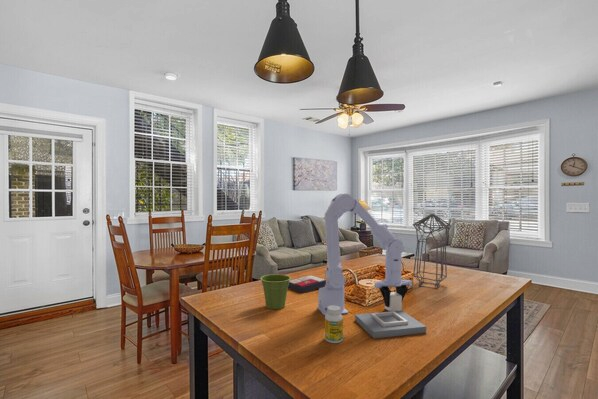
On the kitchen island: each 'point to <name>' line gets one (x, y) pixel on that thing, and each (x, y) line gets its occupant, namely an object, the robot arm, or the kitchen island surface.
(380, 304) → the kitchen island surface
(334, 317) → the supplement bottle
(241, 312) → the kitchen island surface
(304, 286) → the dark product box
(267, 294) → the plant pot
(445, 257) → the geometric lantern
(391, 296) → the cream block
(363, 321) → the display plinth
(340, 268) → the robot arm
